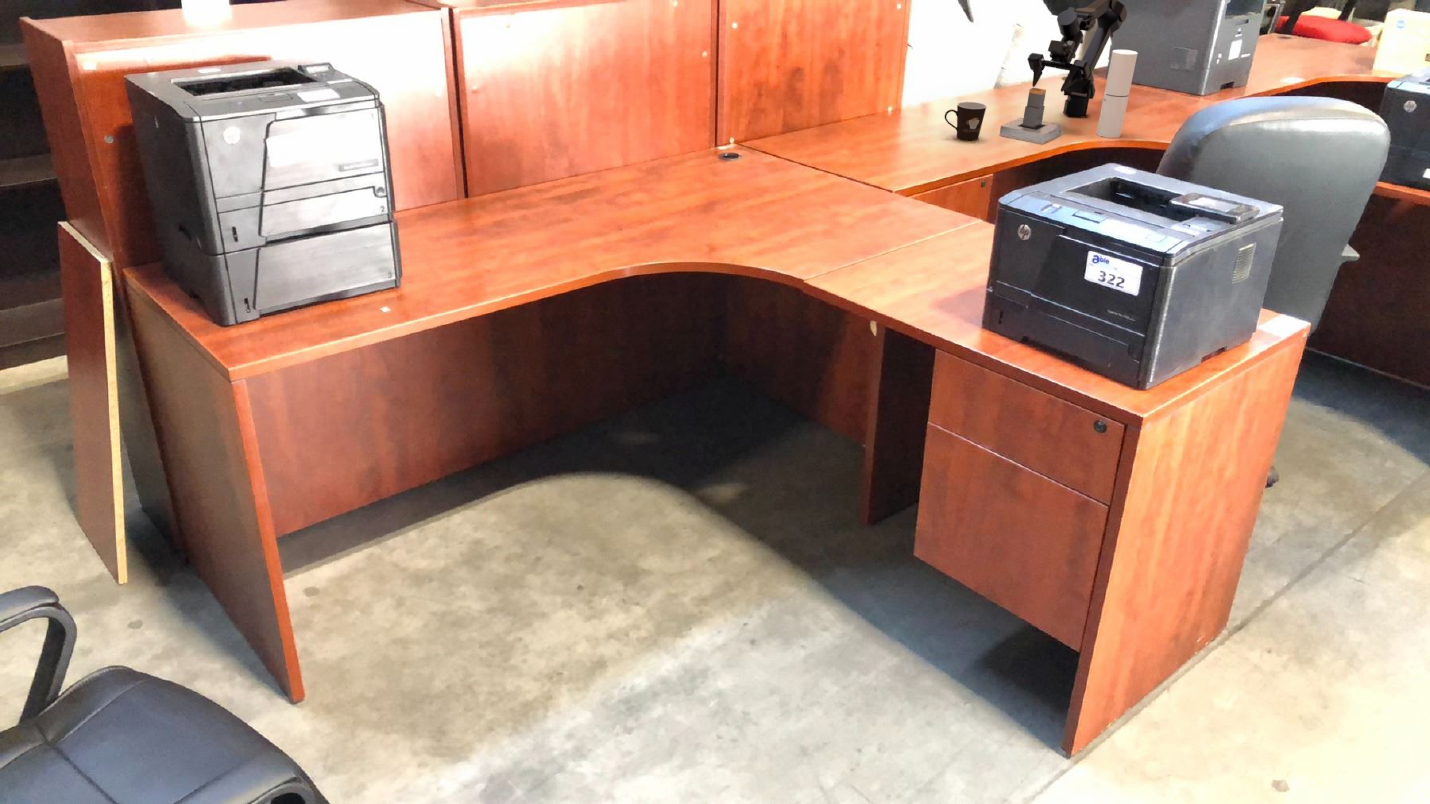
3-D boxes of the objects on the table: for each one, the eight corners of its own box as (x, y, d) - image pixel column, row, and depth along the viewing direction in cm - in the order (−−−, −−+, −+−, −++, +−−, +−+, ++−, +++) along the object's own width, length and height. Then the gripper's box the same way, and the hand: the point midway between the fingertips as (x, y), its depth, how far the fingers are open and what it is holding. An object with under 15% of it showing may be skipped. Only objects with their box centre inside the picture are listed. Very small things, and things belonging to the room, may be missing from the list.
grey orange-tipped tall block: (1027, 132, 326) (1035, 87, 319) (1039, 135, 323) (1047, 89, 316) (1020, 135, 322) (1028, 89, 315) (1032, 138, 320) (1040, 92, 313)
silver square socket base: (1019, 126, 331) (1020, 117, 330) (1061, 135, 324) (1062, 125, 322) (999, 135, 322) (1000, 125, 320) (1041, 144, 314) (1043, 134, 313)
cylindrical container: (1108, 139, 321) (1125, 55, 308) (1091, 133, 326) (1107, 50, 314) (1125, 136, 324) (1142, 53, 311) (1108, 130, 329) (1124, 48, 317)
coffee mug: (983, 136, 321) (988, 103, 316) (979, 143, 314) (984, 110, 309) (945, 132, 324) (949, 99, 319) (941, 139, 317) (945, 106, 312)
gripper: (1035, 25, 321) (1013, 68, 319) (1093, 33, 311) (1071, 77, 309) (1041, 48, 331) (1020, 89, 329) (1098, 56, 320) (1077, 99, 318)
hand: (1047, 88), depth 321 cm, fingers open, 9 cm apart
